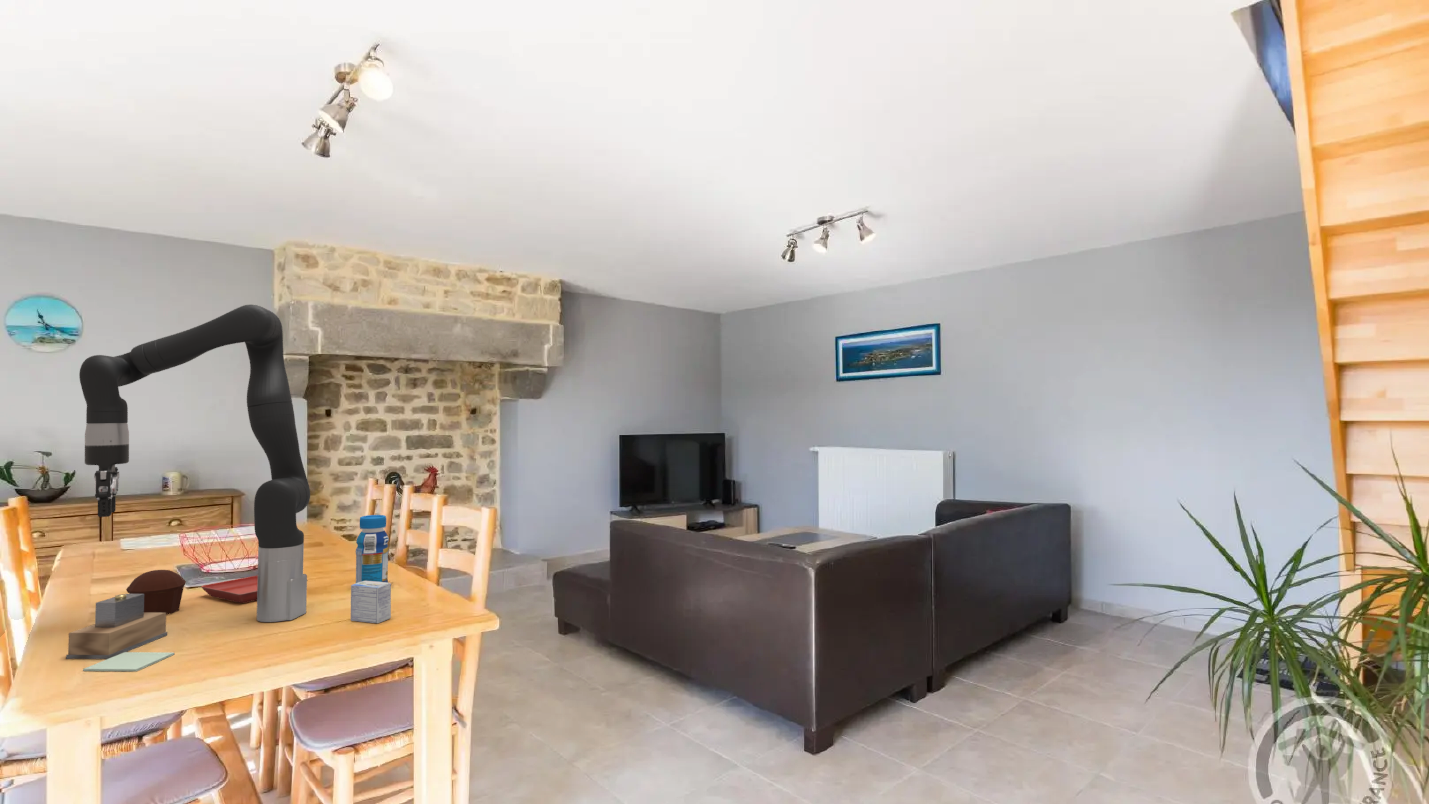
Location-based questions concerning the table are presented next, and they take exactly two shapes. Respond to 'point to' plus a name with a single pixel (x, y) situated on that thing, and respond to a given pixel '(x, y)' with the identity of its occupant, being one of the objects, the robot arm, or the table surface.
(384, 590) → the medicine box
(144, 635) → the body
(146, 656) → the mat
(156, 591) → the muffin
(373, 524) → the beverage bottle
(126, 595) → the block with brass knob
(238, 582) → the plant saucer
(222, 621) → the table surface
